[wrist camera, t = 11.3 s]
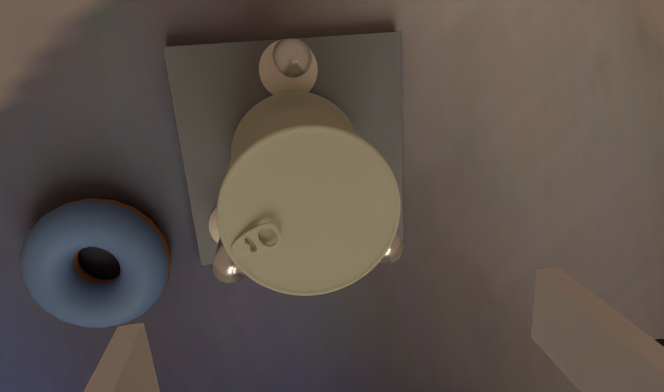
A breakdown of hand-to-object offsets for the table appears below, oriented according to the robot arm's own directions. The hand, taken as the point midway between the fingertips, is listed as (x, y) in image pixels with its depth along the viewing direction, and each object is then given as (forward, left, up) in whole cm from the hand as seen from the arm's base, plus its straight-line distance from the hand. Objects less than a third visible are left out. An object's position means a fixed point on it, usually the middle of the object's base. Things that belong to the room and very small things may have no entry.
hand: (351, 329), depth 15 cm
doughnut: (-5, +15, -21) cm, 27 cm away
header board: (+1, 0, -21) cm, 21 cm away
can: (+1, 0, -20) cm, 20 cm away
